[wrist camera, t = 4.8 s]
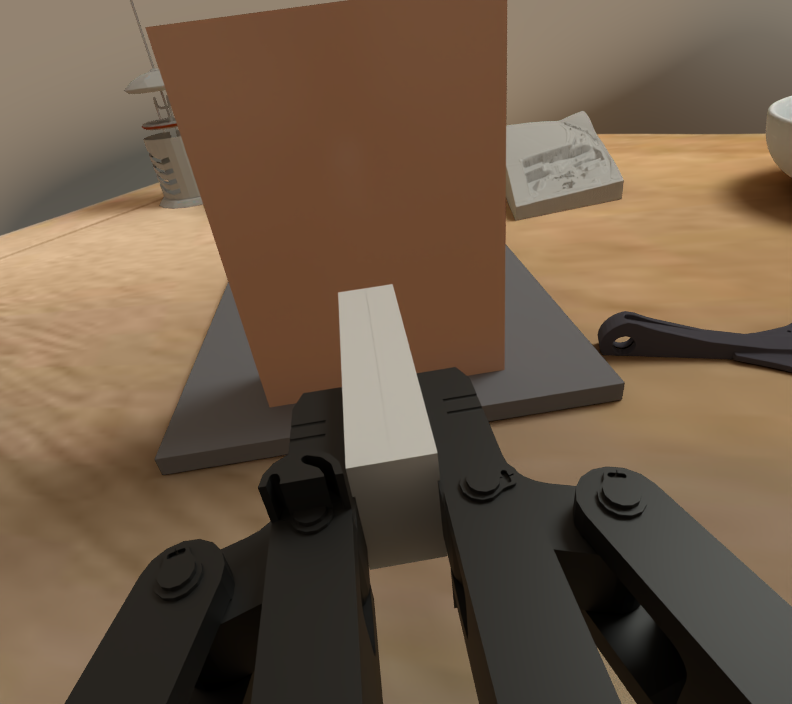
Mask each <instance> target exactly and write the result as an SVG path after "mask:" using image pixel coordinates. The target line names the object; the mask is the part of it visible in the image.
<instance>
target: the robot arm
mask: <svg viewBox="0 0 792 704" xmlns="http://www.w3.org/2000/svg"><path fill="white" fill-rule="evenodd" d="M338 301H339V325H340V348H341V371H342V387H338V388H332V389H326V390H320V391H314V392H307V393H303V394H302V395H301V397H300V398H299V400H298V402H297V403H296V405H295V406H294V408H293V409H292V420H291V430H290V443H289V451H288V455H286V456H285V457H283V458H282V459H280V460H278V461H277V462H275V463H273V464H272V466H271V467H270V468H269V469H268V470H267V471H266V472H265V473H264V474H263V476H262V479H261V481H260V484H259V486H258V489H259V492H260V494H261V497H262V500H263V502H264V505H265V507H266V510H267V512H268V515H269V518H270V520H271V521H270V522H269V523H268V524H267V525H266V526H264V527H263V528H262V529H261V530H260V531H258V532H256V533H254V534H253V535H251V536H249V537H247V538H245V539H243V540H241V541H238V542H236V543H234V544H232V545H230V546H228V547H225V548H223V549H221V550H220V549H219V548H218V547H217V546H216V545H215V544H214V543H213V542H209V541H205V540H201V539H197V540H190V541H183V542H181V543H179V544H177V545H174V546H172V547H170V548H168V549H166V550H165V551H164V552H162V553H161V554H160V555H158V556H157V557H156V558H154V559H153V560H152V561H151V562H150V564H149V565H148V566H147V567H146V569H145V570H144V571H143V572H142V574H141V575H140V576H139V578H138V580H137V582H136V583H135V585H134V587H133V588H132V590H131V592H130V593H129V595H128V597H127V599H126V600H125V602H124V604H123V605H122V607H121V609H120V610H119V612H118V614H117V615H116V617H115V619H114V621H113V622H112V624H111V626H110V627H109V629H108V631H107V632H106V634H105V636H104V638H103V639H102V641H101V643H100V644H99V646H98V648H97V649H96V651H95V653H94V655H93V656H92V658H91V660H90V661H89V663H88V665H87V666H86V668H85V670H84V671H83V673H82V675H81V677H80V678H79V680H78V682H77V683H76V685H75V687H74V688H73V690H72V692H71V694H70V695H69V697H68V699H67V700H66V702H65V704H383V698H382V687H381V675H380V664H379V652H378V640H377V629H376V617H375V606H374V597H373V593H372V589H371V585H370V577H369V568H370V570H372V569H377V568H383V567H388V566H394V565H400V564H405V563H411V562H417V561H422V560H428V559H434V558H439V557H445V556H447V554H448V558H449V562H450V567H451V577H452V588H453V599H454V608H458V612H459V617H460V621H461V626H462V630H463V634H464V639H465V643H466V648H467V652H468V657H469V661H470V665H471V670H472V674H473V679H474V683H475V688H476V692H477V696H478V701H479V704H621V702H620V699H619V697H618V695H617V693H616V690H615V688H614V686H613V684H612V681H611V679H610V677H609V674H608V672H607V670H606V668H605V665H604V663H603V661H602V659H601V656H600V654H599V652H598V650H597V648H598V649H599V650H600V652H601V653H602V655H603V656H604V657H605V659H606V660H607V662H608V663H609V665H610V666H611V667H612V669H613V670H614V672H615V673H616V675H617V676H618V677H619V679H620V680H621V682H622V683H623V685H624V686H625V687H626V689H627V690H628V692H629V693H630V695H631V696H632V697H633V699H634V700H635V702H636V703H637V704H792V607H791V606H790V605H789V604H788V603H787V602H786V601H785V600H784V599H782V598H781V597H780V596H779V595H778V594H777V593H776V592H775V591H774V590H773V589H771V588H770V587H769V586H768V585H767V584H766V583H765V582H764V581H763V580H761V579H760V578H759V577H758V576H757V575H756V574H755V573H754V572H753V571H751V570H750V569H749V568H748V567H747V566H746V565H745V564H744V563H743V562H741V561H740V560H739V559H738V558H737V557H736V556H735V555H734V554H733V553H731V552H730V551H729V550H728V549H727V548H726V547H725V546H724V545H723V544H722V543H720V542H719V541H718V540H717V539H716V538H715V537H714V536H713V535H712V534H710V533H709V532H708V531H707V530H706V529H705V528H704V527H703V526H702V525H700V524H699V523H698V522H697V521H696V520H695V519H694V518H693V517H692V516H690V515H689V514H688V513H687V512H686V511H685V510H684V509H683V508H682V507H680V506H679V505H678V504H677V503H676V502H675V501H674V500H673V499H672V498H671V497H669V496H668V495H667V494H666V493H665V492H664V491H663V490H662V489H661V488H659V487H658V486H657V485H656V484H655V483H653V482H652V481H650V480H649V479H647V478H646V477H644V476H643V475H642V474H639V473H637V472H634V471H631V470H628V469H625V468H618V467H602V468H598V469H593V470H591V471H589V472H588V473H586V474H585V475H583V476H582V477H581V478H580V480H579V482H578V484H577V486H570V485H559V484H549V483H543V482H538V481H534V480H532V479H529V478H527V477H524V476H523V475H521V474H519V473H518V472H517V471H516V469H515V468H513V467H512V466H510V465H509V464H507V462H506V460H505V459H504V457H503V455H502V453H501V451H500V448H499V446H498V443H497V441H496V439H495V436H494V434H493V432H492V429H491V427H490V424H489V422H488V420H487V417H486V415H485V413H484V410H483V409H482V405H481V403H480V401H479V398H478V397H477V394H476V391H475V389H474V387H473V384H472V382H471V379H470V378H469V377H468V376H466V375H465V374H464V373H463V372H461V371H460V370H459V369H458V368H456V367H452V368H446V369H440V370H433V371H427V372H421V373H416V370H415V366H414V363H413V359H412V355H411V351H410V348H409V344H408V340H407V336H406V333H405V329H404V325H403V321H402V318H401V314H400V310H399V306H398V303H397V299H396V295H395V291H394V288H393V284H390V285H383V286H377V287H371V288H364V289H358V290H351V291H345V292H338ZM596 646H597V647H596Z"/></svg>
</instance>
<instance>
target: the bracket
mask: <svg viewBox="0 0 792 704" xmlns="http://www.w3.org/2000/svg"><path fill="white" fill-rule="evenodd" d="M624 336H627V337H631V338H630V339H629V340H627V341H625V342H621V343H620V342H615V340H616V339H618V338H620V337H624ZM598 341H599V346H600V351H601V353H602V355H616V356H646V357H677V358H707V359H733V360H736V361H741V362H746V363H752V364H757V365H762V366H767V367H772V368H776V369H780V370H784V371H788V372H792V323H791V324H789V325H787V326H784V327H780V328H776V329H772V330H767V331H762V332H757V333H750V334H740V333H731V332H722V331H713V330H704V329H699V328H694V327H689V326H685V325H680V324H676V323H671V322H666V321H662V320H657V319H653V318H649V317H645V316H642V315H639V314H636V313H633V312H627V311H624V312H620V313H617V314H615V315H613V316H611V317H609V318H608V319H607V320H606V321H605V322H604V323H603V324H602V325H601V327H600V329H599V331H598ZM612 344H613V345H614V346H616V347H621V348H623V347H627V346H629V345H630V344H632V345H631V346H630V347H629V348H626V349H617V348H615V347H614V346H613V345H612Z"/></svg>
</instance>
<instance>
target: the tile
mask: <svg viewBox="0 0 792 704" xmlns="http://www.w3.org/2000/svg"><path fill="white" fill-rule="evenodd" d="M146 31H147V34H148V37H149V40H150V43H151V46H152V49H153V52H154V55H155V58H156V61H157V64H158V67H159V71H160V74H161V77H162V80H163V83H164V86H165V89H166V92H167V95H168V98H169V101H170V104H171V107H172V110H173V113H174V116H175V120H176V123H177V126H178V129H179V132H180V135H181V138H182V141H183V144H184V147H185V150H186V153H187V156H188V159H189V162H190V165H191V169H192V172H193V175H194V178H195V181H196V184H197V187H198V190H199V193H200V196H201V199H202V202H203V205H204V208H205V211H206V214H207V217H208V221H209V224H210V227H211V230H212V233H213V236H214V239H215V242H216V245H217V248H218V251H219V254H220V257H221V260H222V263H223V266H224V269H225V273H226V276H227V279H228V282H229V285H230V288H231V291H232V294H233V297H234V300H235V303H236V306H237V309H238V312H239V315H240V318H241V322H242V325H243V328H244V331H245V334H246V337H247V340H248V343H249V346H250V349H251V352H252V355H253V358H254V361H255V364H256V367H257V370H258V374H259V377H260V380H261V383H262V386H263V389H264V392H265V395H266V398H267V401H268V404H269V407H276V406H282V405H288V404H295V403H297V402H298V400H299V398H300V397H301V395H302V394H303V393H307V392H314V391H320V390H326V389H332V388H338V387H342V371H341V348H340V325H339V301H338V292H345V291H351V290H358V289H364V288H371V287H377V286H383V285H390V284H393V288H394V291H395V295H396V299H397V303H398V306H399V310H400V314H401V318H402V321H403V325H404V329H405V333H406V336H407V340H408V344H409V348H410V351H411V355H412V359H413V363H414V366H415V370H416V373H421V372H427V371H433V370H440V369H446V368H452V367H456V368H458V369H459V370H460V371H461V372H463V373H464V374H465V375H466V376H469V375H475V374H481V373H487V372H494V371H500V370H505V237H506V94H507V93H506V91H507V0H347V1H339V2H332V3H324V4H317V5H310V6H302V7H295V8H287V9H280V10H272V11H264V12H257V13H249V14H242V15H235V16H227V17H219V18H212V19H205V20H197V21H190V22H182V23H174V24H167V25H160V26H153V27H146Z"/></svg>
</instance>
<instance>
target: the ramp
mask: <svg viewBox="0 0 792 704" xmlns="http://www.w3.org/2000/svg"><path fill="white" fill-rule="evenodd" d="M623 183H624V180H623V177H622V176H621V173H620V171H619V169H618V167H617V165H616V163H615V162H614V160H613V159H612V157H611V155H610V154H609V153H608V151H607V149H606V148H605V146H604V144H603V143H602V141H601V140H600V138H599V137H598V136H597V134H596V133H595V130H594V128H593V126H592V123H591V121H590V119H589V117H588V115H587V114H586V113H585V112H584V111H581V112H579V113H576V114H573V115H571V116H569V117H567V118H565V119H563V120H560V121H545V122H531V123H523V124H515V125H508V126H506V199H507V201H508V204H509V206H510V208H511V211H512V213H513V216H514V218H515V221H516V220H521V219H527V218H531V217H536V216H541V215H546V214H551V213H556V212H561V211H566V210H570V209H576V208H580V207H585V206H590V205H595V204H599V203H605V202H610V201H614V200H619V199H622V192H623Z"/></svg>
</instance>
